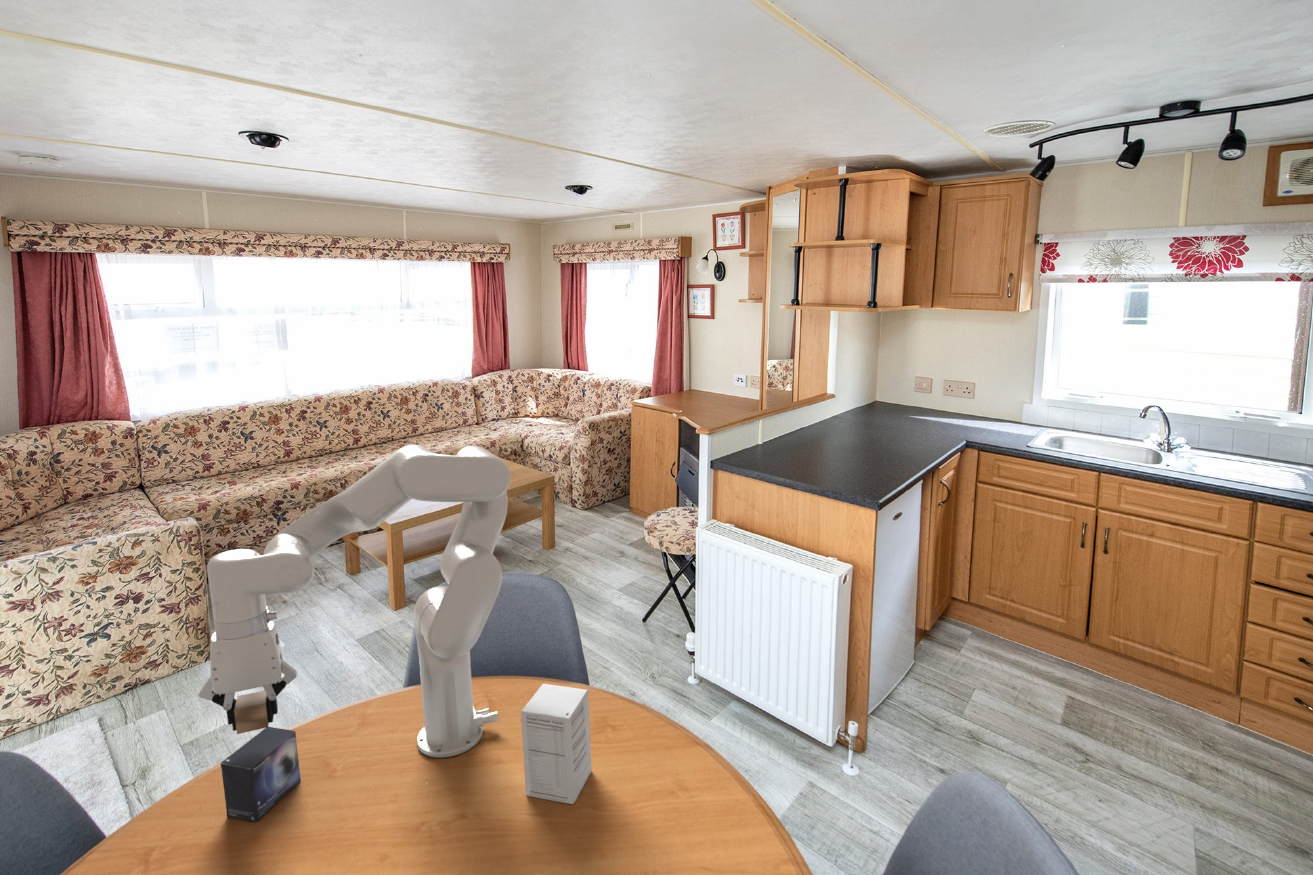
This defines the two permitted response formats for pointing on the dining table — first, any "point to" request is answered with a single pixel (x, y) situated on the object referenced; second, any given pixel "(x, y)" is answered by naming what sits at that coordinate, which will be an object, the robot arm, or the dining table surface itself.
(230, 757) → the small box
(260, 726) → the brown wooden cube
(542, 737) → the supplement box
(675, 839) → the dining table surface
